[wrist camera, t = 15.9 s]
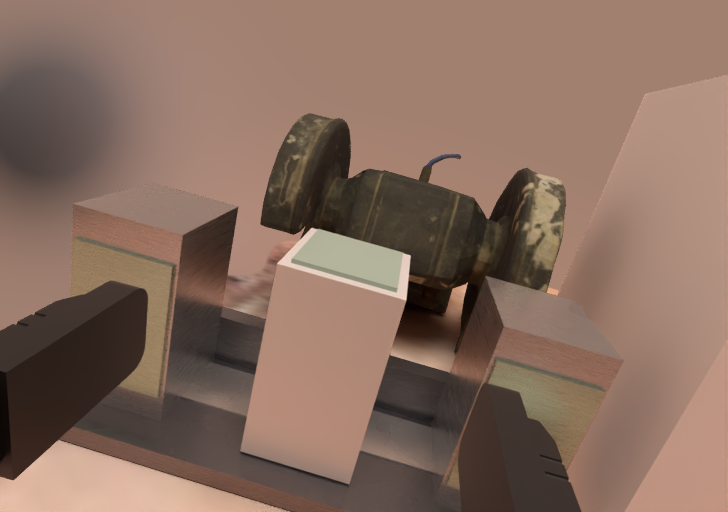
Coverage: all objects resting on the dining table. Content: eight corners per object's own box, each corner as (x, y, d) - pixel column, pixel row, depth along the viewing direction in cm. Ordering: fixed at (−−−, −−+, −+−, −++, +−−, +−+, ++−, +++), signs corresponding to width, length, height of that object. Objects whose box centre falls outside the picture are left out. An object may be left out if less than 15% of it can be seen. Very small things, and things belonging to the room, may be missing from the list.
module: (365, 406, 27) (411, 252, 24) (349, 484, 21) (407, 296, 18) (278, 380, 27) (312, 224, 24) (240, 451, 22) (277, 259, 18)
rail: (517, 450, 29) (587, 297, 25) (556, 593, 20) (671, 393, 16) (134, 336, 30) (148, 175, 26) (18, 426, 21) (15, 205, 18)
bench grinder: (531, 396, 28) (619, 113, 31) (213, 277, 30) (319, 21, 33) (471, 365, 48) (527, 195, 51) (282, 294, 50) (345, 135, 53)
